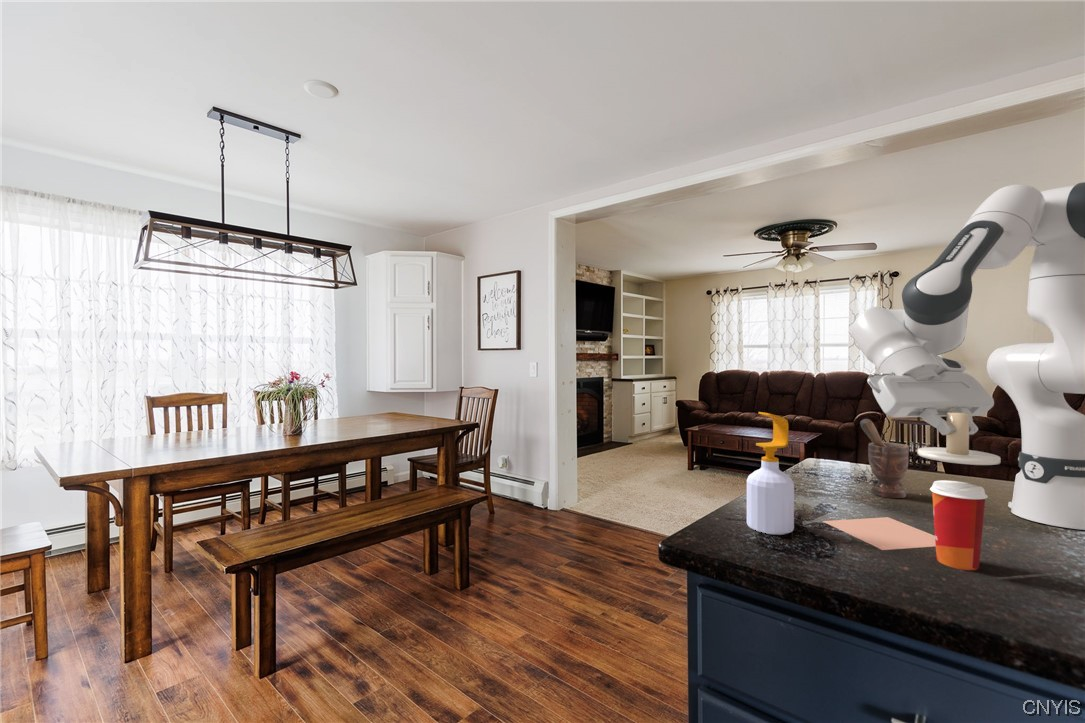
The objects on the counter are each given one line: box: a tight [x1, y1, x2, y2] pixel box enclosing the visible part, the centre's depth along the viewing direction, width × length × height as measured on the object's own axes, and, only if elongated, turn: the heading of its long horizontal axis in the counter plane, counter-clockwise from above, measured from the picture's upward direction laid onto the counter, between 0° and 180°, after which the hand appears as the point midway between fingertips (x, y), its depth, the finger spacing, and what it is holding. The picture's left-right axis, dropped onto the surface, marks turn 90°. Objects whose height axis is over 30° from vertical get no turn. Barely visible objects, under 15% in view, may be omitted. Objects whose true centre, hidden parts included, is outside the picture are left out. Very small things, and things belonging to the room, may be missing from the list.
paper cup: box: [929, 479, 988, 571], centre depth 86 cm, size 8×8×14 cm
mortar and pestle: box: [859, 418, 910, 499], centre depth 128 cm, size 12×9×20 cm
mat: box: [822, 516, 936, 551], centre depth 101 cm, size 16×16×1 cm
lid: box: [917, 412, 1002, 466], centre depth 86 cm, size 11×11×8 cm
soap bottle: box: [746, 411, 795, 536], centre depth 105 cm, size 9×9×25 cm
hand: (961, 432), depth 85 cm, fingers closed on lid, 3 cm apart
